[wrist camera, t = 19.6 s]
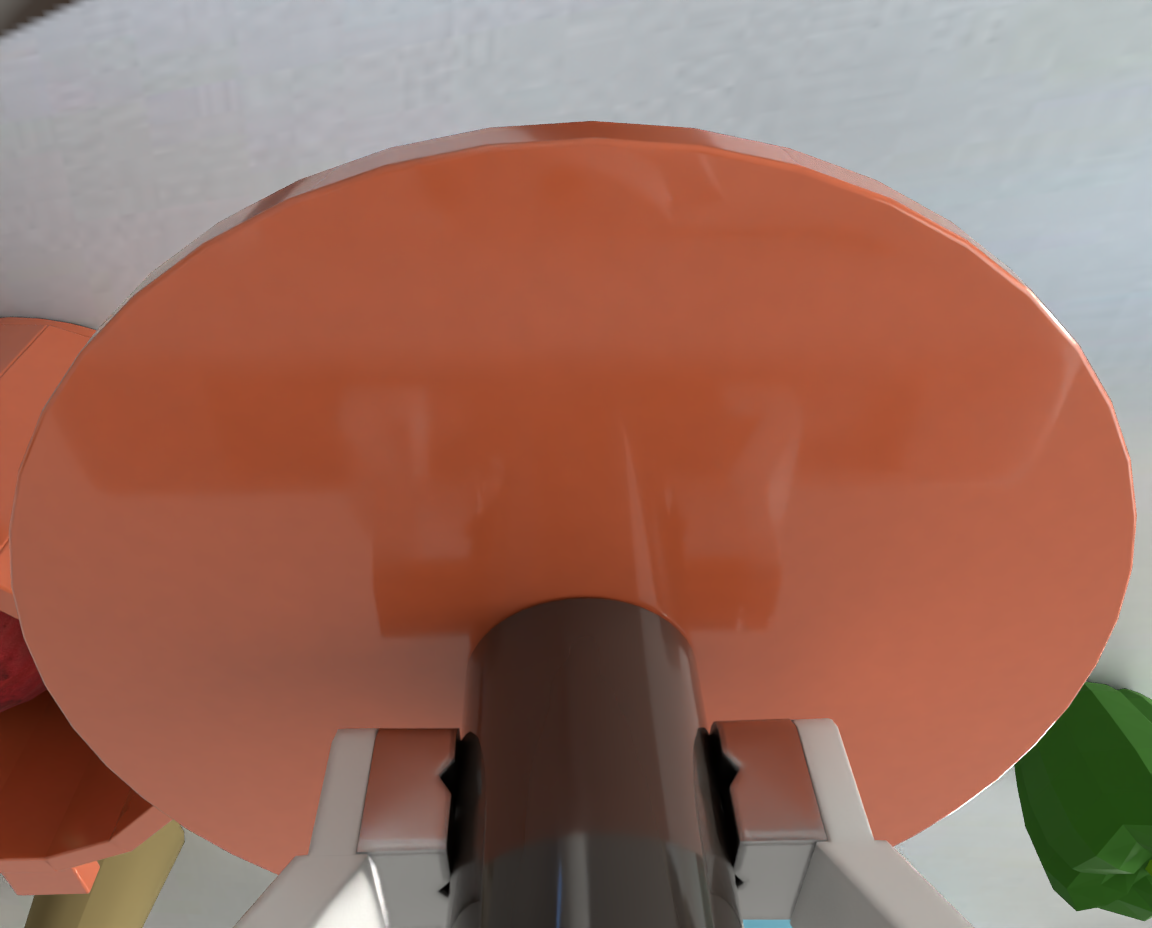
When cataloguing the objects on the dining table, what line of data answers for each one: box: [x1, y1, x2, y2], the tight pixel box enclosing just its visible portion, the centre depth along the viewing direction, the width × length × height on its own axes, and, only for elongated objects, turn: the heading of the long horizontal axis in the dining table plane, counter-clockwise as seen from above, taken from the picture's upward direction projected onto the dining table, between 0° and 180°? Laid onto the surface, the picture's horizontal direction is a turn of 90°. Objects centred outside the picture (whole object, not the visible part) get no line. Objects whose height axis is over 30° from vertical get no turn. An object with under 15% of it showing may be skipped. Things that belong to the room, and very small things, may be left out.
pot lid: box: [9, 121, 1137, 928], centre depth 11 cm, size 15×15×6 cm
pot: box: [0, 317, 173, 895], centre depth 27 cm, size 14×19×10 cm
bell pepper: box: [1014, 682, 1152, 921], centre depth 37 cm, size 8×8×10 cm
